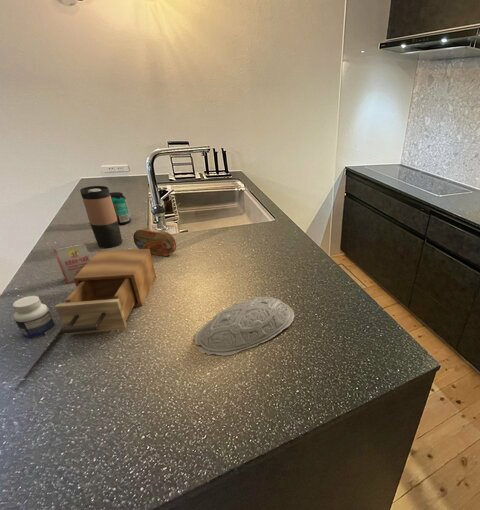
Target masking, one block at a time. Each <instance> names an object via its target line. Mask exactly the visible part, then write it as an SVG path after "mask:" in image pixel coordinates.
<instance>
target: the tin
mask: <svg viewBox="0 0 480 510" xmlns="http://www.w3.org/2000/svg"><path fill="white" fill-rule="evenodd" d="M132 239H133V243H134V245H135V246H136V247H137V248H136V249H150V253H151V255H154V256H155V255H156V256H161V257H169V256H170V255H171V254H173V253H175V251H176V249H177V242H176V240H175V238H174V236H173V235H172V234H171V233H170V232H167V231H164V230H159V229H153V228H147V227H146V228H141V229H137V230H135V231H134V232H133V238H132Z"/></svg>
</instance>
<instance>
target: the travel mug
mask: <svg viewBox="0 0 480 510" xmlns="http://www.w3.org/2000/svg"><path fill="white" fill-rule="evenodd" d="M79 192H80V195H81V199H82V202H83V204H84V208H85V211H86V214H87V215H86V216H87V219H88V221H89V222H88V223H89V225H90V227H91V230H92V233H93V236H94V238H95V241H96V244H97V246H98V248H100V249H112V248H116V247H119V246H121V245H122V244H123V238H122V234H121V230H120V225H118V220H117V217H116V213H115V210H114V206H113V203H112V199H111V196H110V193H111V192H110V188H109V187H107V186H106V185H105V186H104V185H90V186H85V187H82V188H80V189H79Z"/></svg>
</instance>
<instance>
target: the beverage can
mask: <svg viewBox="0 0 480 510" xmlns="http://www.w3.org/2000/svg"><path fill="white" fill-rule="evenodd" d="M110 196H111V199H112V203H113V206H114V210H115V213H116V217H117V220H118V225H119V226H125V225H127V224H129V223H130V222H131V221H132V218H131V214H130V209H129V206H128V201H127V199H126V197H125V196H124V194H123V192H121V191H120V192H118V191H112V192H110Z"/></svg>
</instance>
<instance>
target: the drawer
mask: <svg viewBox="0 0 480 510" xmlns="http://www.w3.org/2000/svg"><path fill="white" fill-rule="evenodd" d="M136 300H137V298H136V294H135V291H134V287H133V283H132V280H131V277H130V278H115V279H99V280H84V281H82V282H81V283H80V284H79V285H78V286H77V287H75V288H74V290H73V291H72V292H71V293H70V294H69V295H68V296H67V298H65V302H59V303H57V304H56V305H55V310H56V312H57V314H58V317H59V319H60V321H61V324H62V326H63V327H62V329H61V333H62V334H64V335H67V336H68V335H69V336H70V335H79V334H87V333H88V334H89V333H97V332H107V331H115V330H116V331H117V330H126V329H127V327H128V323H127V319H128V318H129V315H130V314H131V312H132V310H133V308H134V307H135V306H134V304H135V302H136ZM133 306H134V307H133Z"/></svg>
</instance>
